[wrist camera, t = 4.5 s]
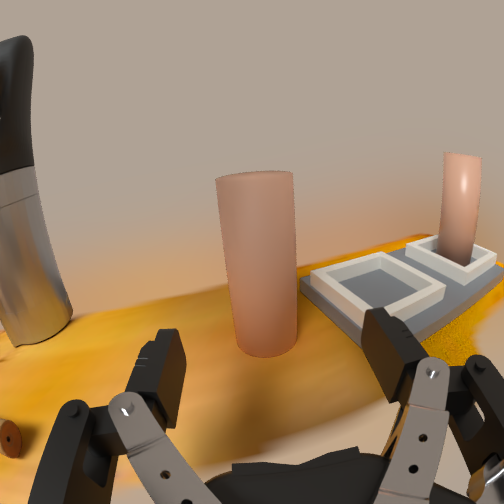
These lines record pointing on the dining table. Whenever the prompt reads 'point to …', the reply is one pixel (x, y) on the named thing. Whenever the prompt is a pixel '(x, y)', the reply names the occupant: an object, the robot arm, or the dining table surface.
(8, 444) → the kendama
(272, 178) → the post
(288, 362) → the dining table surface
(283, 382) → the dining table surface
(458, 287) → the grey peg holder
